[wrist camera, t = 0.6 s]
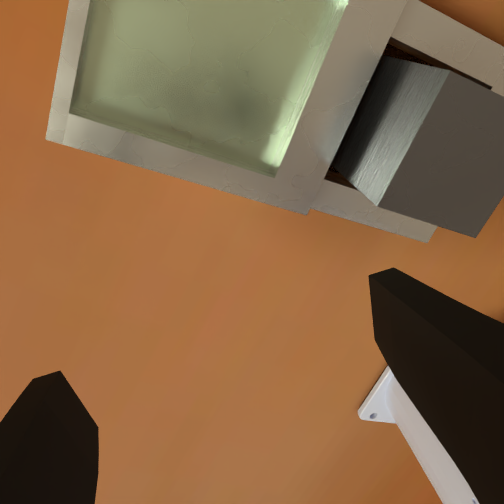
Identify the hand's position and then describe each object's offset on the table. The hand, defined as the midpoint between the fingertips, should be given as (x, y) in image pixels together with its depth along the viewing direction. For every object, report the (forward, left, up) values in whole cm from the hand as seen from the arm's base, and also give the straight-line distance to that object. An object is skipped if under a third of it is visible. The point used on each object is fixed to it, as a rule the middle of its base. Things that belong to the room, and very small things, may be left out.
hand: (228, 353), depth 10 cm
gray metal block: (-6, -5, -10) cm, 13 cm away
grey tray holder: (-2, -5, -10) cm, 12 cm away
